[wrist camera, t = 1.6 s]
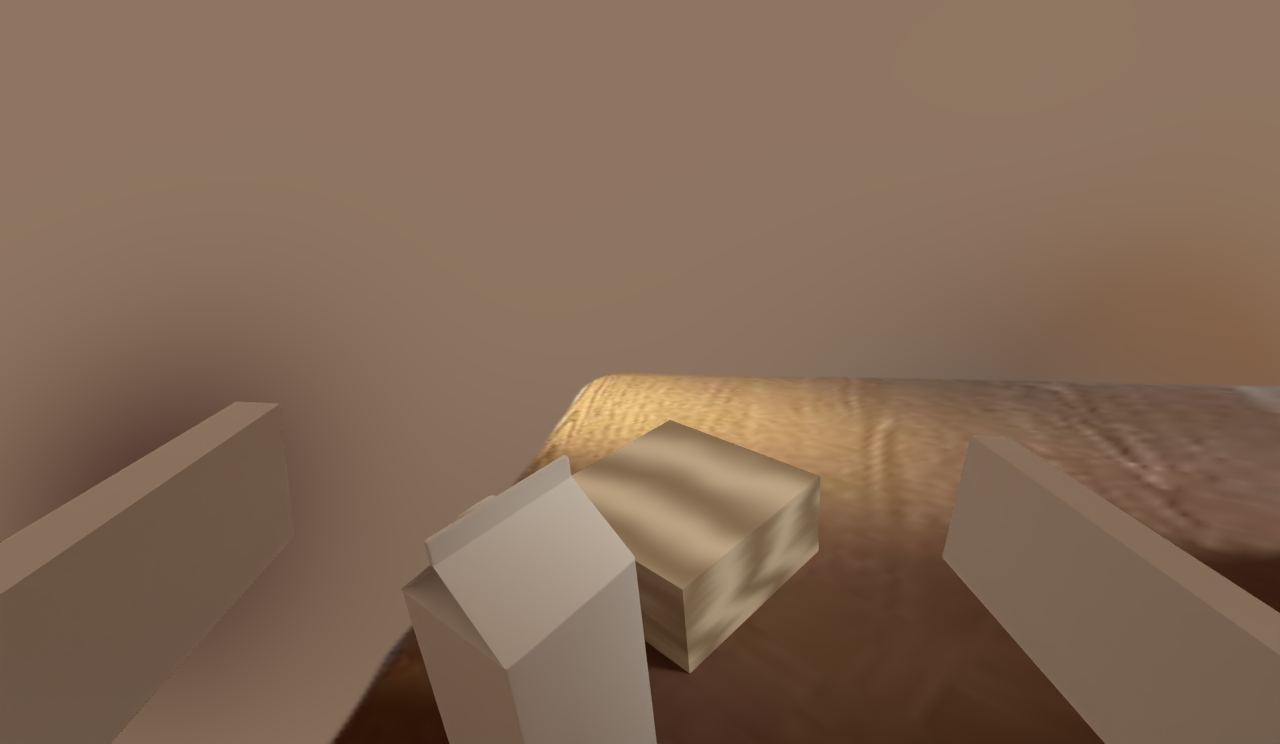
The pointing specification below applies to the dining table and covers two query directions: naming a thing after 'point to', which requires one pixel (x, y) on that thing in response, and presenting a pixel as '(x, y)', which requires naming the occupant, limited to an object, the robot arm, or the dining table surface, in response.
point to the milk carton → (534, 621)
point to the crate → (703, 531)
